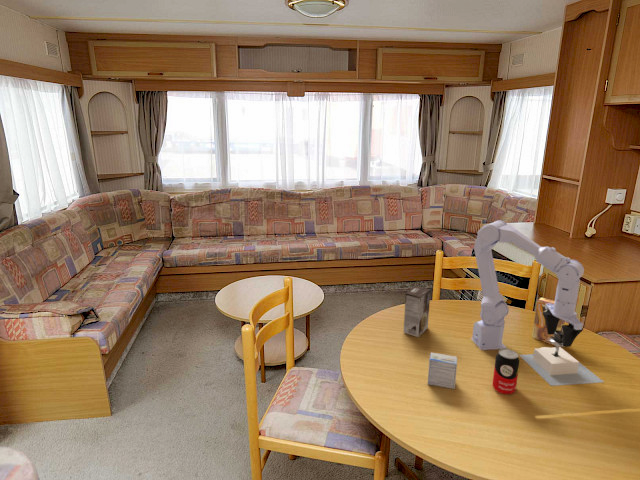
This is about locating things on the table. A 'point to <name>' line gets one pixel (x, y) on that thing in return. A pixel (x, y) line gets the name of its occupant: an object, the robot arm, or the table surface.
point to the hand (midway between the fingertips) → (558, 339)
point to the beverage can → (506, 371)
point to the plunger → (557, 340)
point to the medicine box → (442, 370)
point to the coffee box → (416, 311)
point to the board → (564, 379)
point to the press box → (555, 361)
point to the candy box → (543, 322)
